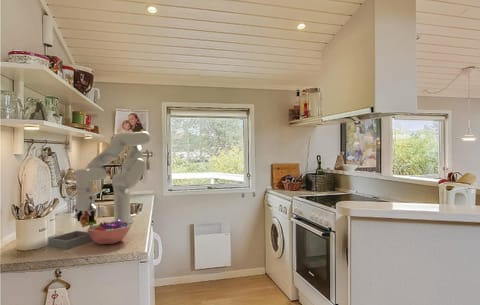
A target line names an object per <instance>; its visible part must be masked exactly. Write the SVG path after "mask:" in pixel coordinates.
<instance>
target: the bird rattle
mask: <svg viewBox="0 0 480 305" xmlns="http://www.w3.org/2000/svg"><path fill="white" fill-rule="evenodd" d="M90 212H91V211H90ZM79 223H80V225H81V226H82V228H85V227H88V226H89V228H90V227H92V226H95V225H98V224H97V219H94V222H91V223H89V213H88V212H87V211H84V213H83V215H82V216H81V217H80V221H79Z"/></svg>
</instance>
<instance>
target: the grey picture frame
mask: <svg viewBox="0 0 480 305" xmlns="http://www.w3.org/2000/svg"><path fill="white" fill-rule="evenodd" d="M93 241H94V240H93V239H92V238H91V237H90V235H89V233H88V231H81V230H74V231H71V232H67V233H63V234H59V235H57V236H53V237H49V238H48V242H47V243H48V247H53V248H59V249H63V250H69V249H72V248H74V247H77V246H81V245H83V244H86V243H89V242H93Z"/></svg>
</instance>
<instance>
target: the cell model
mask: <svg viewBox="0 0 480 305" xmlns="http://www.w3.org/2000/svg"><path fill="white" fill-rule="evenodd" d="M131 228H132V223H126V222H122V221H121V220H120V219H117V222H112V221H110V222H107V221H104V222H100V223H99V224H94V225H93V226H91V227H90V226H89V227H88V229H87V232H88V233H89V235H90V237H91V238H92V239H93V241H94V242H96V243H97V244H99V245H113V244H117V243H119V242H122V241H123V240H125V238H126V237H127V235H128V233H129V231H130V229H131Z"/></svg>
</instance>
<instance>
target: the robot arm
mask: <svg viewBox="0 0 480 305" xmlns="http://www.w3.org/2000/svg"><path fill="white" fill-rule="evenodd" d="M150 142H151V135H150V133H148V132H147V131H133V132H122V133H121V132H120V133H117V134H116V135H115V136H114V137H113V138H112V139H111V141H110V142H109V144H108V145H107V146H106V147H105V149H104V150H103V151H102V152H100V153H99V154H97V155H96V156H95V157H94V158H93V159H92V160H91V161H90V162H89V163H88V164H87V166H86V167H85V168H79V169H76V171H75V185H76V186H75V187H76V197H75V198H76V199H75V205H74V206H73V207H74V211H75V212H76V213H75V214H76V217H77V218H76V219H77V222H80V217H81V216H82V215H83V214H84V213H83V212H85V211H87V212H88V213H89V223H91V222H94V220H95V215H96V212H97V210H98V207H97V206H96V202H95V198H94V193H93V190H92V189H93V188H92V181H101V180H104V179H105V178H106V177H107V170H106V169H105V168H103V167H104V166H105V165H107V164H108V163H111V162H113V161H115V160H117V159H118V158H119V156H120V155H121V153H122V151H123V150H124V149H125V148H127V147H129V148H130V149H129V152H128V154H127V155H126V157H125V159H124V161H123V163H122V166H121V168H122V170H123V171H124V172H117V173H115V174H114V175H113V177H112V179H111V185H112V188H113V189H112V190H113V216H114V217H113V218H114V219H113V220H112V221H111V222H117V219H120V220H121V221H122V222H126V223H130V224H132V223H134V220H133V218H136V216H137V215H136V213H133V214H132V213H131V192H130V189H131V190H132V189H134V188H135V187H137V185H138V184H139V182H140V181H141V178H142V177H143V174H144V173H145V170H146V162H145V161H144V159H142V158H143V154H144V150H143V146H145V145H147V144H148V143H150ZM90 211H91V212H90Z"/></svg>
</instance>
